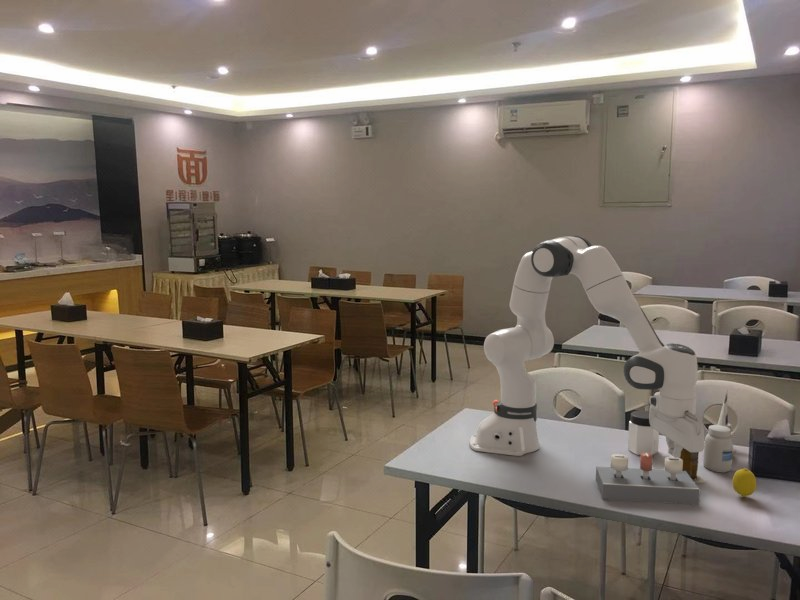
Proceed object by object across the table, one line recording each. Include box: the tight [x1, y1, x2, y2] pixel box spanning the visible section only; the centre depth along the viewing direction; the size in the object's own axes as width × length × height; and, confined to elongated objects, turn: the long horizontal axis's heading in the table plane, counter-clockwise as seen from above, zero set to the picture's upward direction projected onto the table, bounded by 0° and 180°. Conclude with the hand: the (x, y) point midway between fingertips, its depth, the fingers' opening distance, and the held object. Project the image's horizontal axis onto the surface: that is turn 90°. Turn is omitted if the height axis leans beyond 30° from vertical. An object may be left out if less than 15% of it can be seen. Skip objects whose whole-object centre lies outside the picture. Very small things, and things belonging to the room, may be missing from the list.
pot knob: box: [639, 453, 654, 480], centre depth 172 cm, size 3×3×8 cm
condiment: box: [680, 448, 706, 484], centre depth 182 cm, size 7×8×12 cm
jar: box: [627, 410, 660, 456], centre depth 201 cm, size 9×8×12 cm
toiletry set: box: [702, 388, 735, 473], centre depth 194 cm, size 25×8×21 cm, turn 149°
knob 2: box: [663, 455, 683, 481], centre depth 171 cm, size 4×4×7 cm
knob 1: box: [610, 453, 629, 478], centre depth 173 cm, size 4×4×7 cm
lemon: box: [732, 467, 757, 498], centre depth 169 cm, size 6×6×8 cm
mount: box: [595, 466, 700, 505], centre depth 173 cm, size 24×12×4 cm, turn 82°
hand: (674, 455), depth 170 cm, fingers closed
